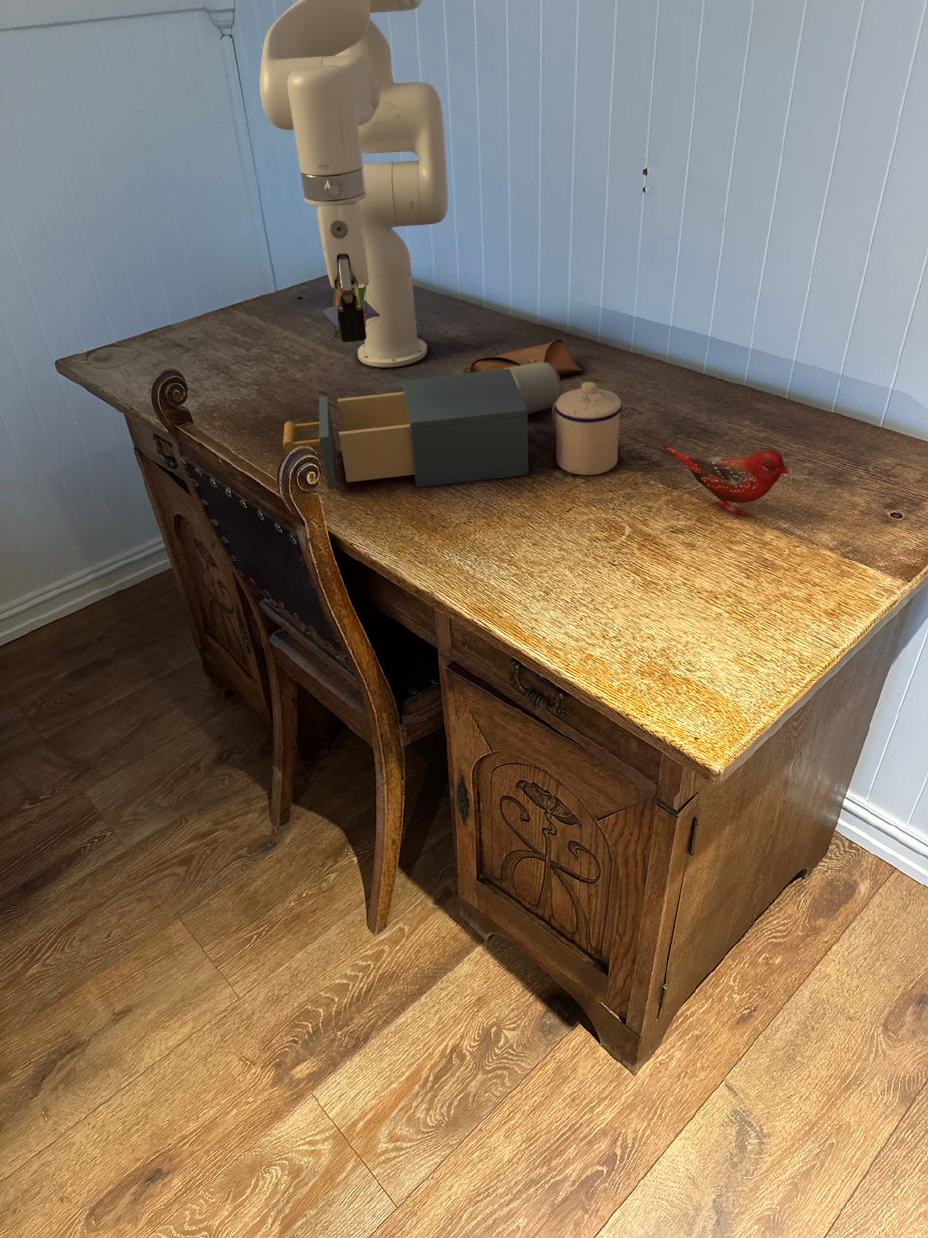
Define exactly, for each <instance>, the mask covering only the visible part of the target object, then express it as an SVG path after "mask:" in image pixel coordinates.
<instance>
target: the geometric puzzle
mask: <svg viewBox="0 0 928 1238" xmlns="http://www.w3.org/2000/svg"><path fill="white" fill-rule="evenodd" d="M360 287H362V286H360ZM358 290H359V298H360V306H361V308H363V314H364V322H365V327H366V326H367V325H368V324H367V325H366V320H367V319H370V318H373V317H376V316H378V318H379V316H380V315H379V314H378V313H379V312H378V313H377V312H376V311H375V310H374V309H373V308H372V307H371V306H370V305H369V304H368V303H367V302H366V301H365V300H364V296H365V293H366V287H363V288H360V289H358ZM367 291H368V290H367ZM332 293H333V295H332V300H331V301H330V302H328V303H327V304H325V306H322V307H321V309H319V312H320V313H321V314H322V315H323V316H324V317H325V318H326V319H328V321H329V322H330V323H331V324H332V325H333V326H334V328H335V333H334V340H337V339H338V340H340V338H341V331H340V324H339V317H338V310H339V305H338V297H337V290H335V289H334V290H333V291H332V292H331V293H330V294H329V296H331V294H332ZM352 293H354V294H355V291H352ZM368 293H369V292H368ZM341 294H342V292H341ZM369 295H370V294H369ZM329 296H328V298H330V297H329ZM370 297H371V296H370ZM328 298H327V299H326V301H327V300H328ZM371 299H372V298H371ZM326 301H325V302H326ZM372 301H373V300H372ZM332 302H333V306H330V307H327V306H328V305H330V303H332ZM373 303H374V302H373ZM374 305H375V304H374ZM326 307H327V308H326ZM375 307H376V306H375ZM356 308H357V307H356ZM376 309H377V308H376ZM377 311H378V310H377ZM326 319H324V321H325V322H326V324H328V322H327V320H326ZM375 319H376V318H375ZM375 319H374V320H375ZM376 321H377V320H376ZM371 322H372V321H371ZM371 322H370V323H371ZM329 329H330V331H331V333H333V332H332V330H331V328H329ZM371 329H372V328H371ZM369 332H370V331H369ZM367 335H368V334H367ZM362 342H365V340H362Z"/></svg>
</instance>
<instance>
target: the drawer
mask: <svg viewBox="0 0 928 1238" xmlns="http://www.w3.org/2000/svg"><path fill="white" fill-rule="evenodd" d="M318 398H319V399H318V401H319V402H318V403H319V405H318V407H319V409H318V410H319V411H318V412H319V419H318V421H314V422H313V421H312V422H303V423H296V424H295V423H294V422H293V421H286V422H285V423H284V425H283V426H284V427H283V440H282V448H283V450H284V451H285V452H288V453H290V452H293V451H294V449H295V448H300V447H299V446H303V447H311V446H318V445H319V446H320V449H321V455H322V462H323V466H324V472H325V477H326V484H327V490H335V489H338V479H337V473H338V472H337V450H336V449H337V446H336V439H335V434H334V428H333V420H332V414H331V408H330V402H329V396H328V395H326V396H319V397H318ZM337 406H338V411H339V417H340V425H341V431H339V432H338V436H339V437H338V438H339V442H340V449H341V456H342V460H343V468H344V473H345V475H344V476H345V480H346V483H352V482H353V483H354V482H361V481H369V480H379V479H387V478H397V477H403V476H415V469H414V459H413V449H412V440H411V430H410V423H409V417H408V412H407V406H406V401H405V395H404V392H403V391H399V392H390V393H389V392H388V393H381V394H372V395H371V394H369V395H362V396H351V397H345V398H344V397H343V398H337ZM314 428H319V431H318V432H319V433H318V434H319V435H318V436H319V438H318V439H317V438H316V439H310V440H309V439H308V440H307V439H306V440H298V441H296V439H295V435H296V431H297V430H298V431H299V430H305V429H314Z"/></svg>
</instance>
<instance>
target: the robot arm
mask: <svg viewBox="0 0 928 1238" xmlns="http://www.w3.org/2000/svg"><path fill="white" fill-rule="evenodd" d="M423 1H424V0H296V1H295V2H294V3H293V4H292V5H291V6H290V7H289V8H288V9H286V10H285V12H284V13H282V14H281V15H280V16H279V17H278V18H277V19H276V20H275V21H274V22H273V23H272V24H271V26H270V28H269V29H268V31H267V33H266V34H265V37H264V40H263V46H262V54H261V60H260V61H261V62H260V70H259V71H260V72H259V96H260V102H261V106H262V109H263V112H264V115H265V116H266V118H267V119H268V121H269V122H270V123H271V125H272V126H274V127H276V128H278V129H280V130H284V131H285V130H286V131H293V133H294V139H295V144H296V145H295V146H296V152H297V158H298V163H299V170H300V178H301V185H302V190H303V196H304V202H305V203H306V204H308V205H311V206H315V210H316V217H317V223H318V229H319V236H320V243H321V247H322V252H323V257H324V263H325V267H326V271H327V276H328V281H329V285H330V287H331V288H332V289H333V290H334V291H335V290H337V297H338V305H339V310H338V317H339V324H340V331H341V337H340V339H341V341H342V342H343V343H349V342H350V343H352V342H358V341H359V342H361V341H362V340H364V343H363V344H362V345H361V346H359V348H358V349H357V358H358V360H359V361H360V362H361V363H362V364H364V365H367V366H369V367H375V368H398V367H404V366H408V365H411V364H414V363H416V362H418V361H420V360H422V359H424V358H425V356H426V355H427V353H428V345H427V343H426V342H425V341H424V340H423V339H420V338H418V328H417V327H418V326H417V318H416V306H415V295H414V294H415V293H414V284H413V272H412V262H411V255H410V251H409V248H408V245H407V244H406V243H405V241H404V240H403V239H402V238H401V236H400V234H398V232H396V231H395V230H394V228H399V227H411V226H413V227H414V226H424V225H425V226H427V225H435V224H439V223H440V222H442V221H443V220H444V219H445V218H446V216H447V213H448V210H449V209H448V208H449V186H448V185H449V183H448V169H447V168H448V167H447V153H446V140H445V124H444V114H443V107H442V103H441V98H440V96H439V93H438V91H437V90H436V88H435V87H434V86H433V85H431V84H430V83H428V82H422V81H412V82H411V81H408V82H395V81H394V78H393V68H392V54H391V47H390V44H389V42H388V41H387V38H386V37H385V35H384V34H383V32H382V31H381V30H380V28H379V27H378V26H377V25H376V23H375V22H374V20H373V21H372V19H371V14H376V13H390V12H391V13H393V12H405V11H406V12H407V11H412V10H413V11H414V10H415V9H417V8H418V7H420V6H421V4H422V3H423ZM405 152H411V153H414V154H415V155H416V156H417V157H418V160H407V161H405V160H404V161H383V162H368V163H363V155H362V154H388V153H405ZM360 286H362V287H360ZM363 287H366V293H365V296H364V300H365V301H366V302H367V303H368V304H369V305H370V306H371V307H372V308H373V309H374V310H375V311H376V312H377V313H378V312H379V313H378V314H379V315H380V316H379V318H378V316H376V317H373V318H370V319H367V320H366V325H367V324H368V325H367V326H366V327H365V322H364V314H363V308H361V306H360V298H359V290H358V289H360V288H363ZM367 290H368V291H367ZM352 291H355V294H354V293H352ZM341 292H342V294H341ZM368 292H369V293H368ZM369 294H370V295H369ZM370 296H371V297H370ZM371 298H372V299H371ZM372 300H373V301H372ZM373 302H374V303H373ZM374 304H375V305H374ZM375 306H376V307H375ZM356 307H357V308H356ZM376 308H377V309H376ZM377 310H378V311H377ZM375 318H376V319H375ZM374 319H375V320H374ZM376 320H377V321H376ZM371 321H372V322H371ZM370 322H371V323H370ZM371 328H372V329H371ZM369 331H370V332H369ZM367 334H368V335H367ZM362 342H363V341H362Z"/></svg>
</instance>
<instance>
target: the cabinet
mask: <svg viewBox="0 0 928 1238" xmlns="http://www.w3.org/2000/svg"><path fill="white" fill-rule="evenodd" d="M401 383H402V390H403V391H402V392H404V395H405V401H406V406H407V412H408V417H409V423H410V430H411V440H412V449H413V459H414V469H415V475H414V480H415V486H416V488H424V487H432V486H433V487H434V486H442V485H450V484H458V483H467V482H468V483H469V482H475V481H486V480H493V479H501V478H503V479H504V478H511V477H519V476H528V475H529V426H528V425H529V424H528V423H529V420H528V417H529V416H528V415H529V414H528V411H527V408H526V406H525V403H524V401H523V399H522V396H521V394H520V392H519V389H518V387H517V385H516V382H515V380H514V378H513V375H512V373H511V371H510V369H501V370H492V371H483V372H473V373H471V372H465V373H456V374H447V375H446V374H445V375H437V376H428V377H419V378H410V379H409V378H408V379H402V380H401Z"/></svg>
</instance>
